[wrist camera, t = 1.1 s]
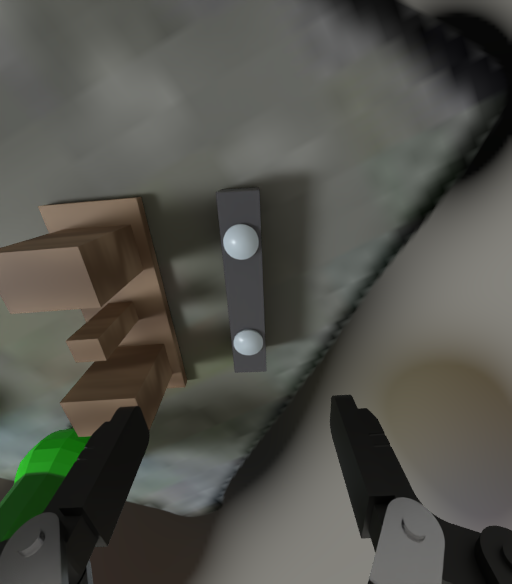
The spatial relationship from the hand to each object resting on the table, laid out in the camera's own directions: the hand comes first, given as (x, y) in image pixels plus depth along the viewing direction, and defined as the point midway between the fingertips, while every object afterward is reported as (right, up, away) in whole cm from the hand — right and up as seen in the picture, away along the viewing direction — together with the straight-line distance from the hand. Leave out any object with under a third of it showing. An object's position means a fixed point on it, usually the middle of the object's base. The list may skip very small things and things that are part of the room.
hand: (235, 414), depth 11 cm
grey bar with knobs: (0, +7, +14) cm, 15 cm away
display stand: (-12, +4, +15) cm, 19 cm away
